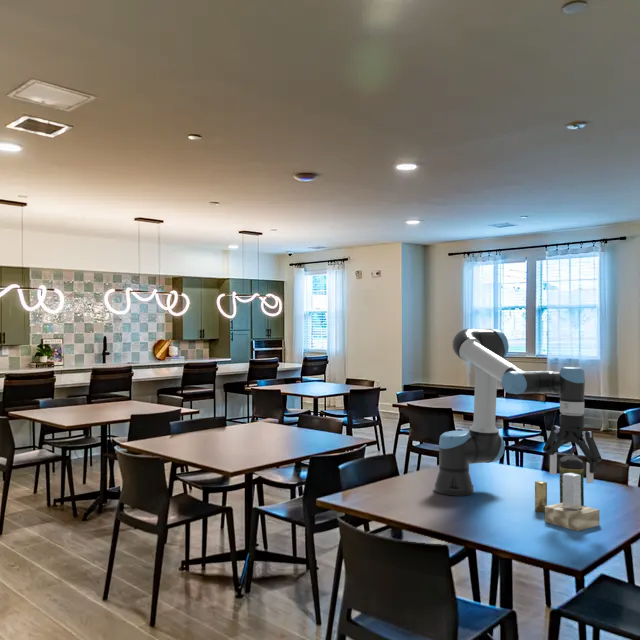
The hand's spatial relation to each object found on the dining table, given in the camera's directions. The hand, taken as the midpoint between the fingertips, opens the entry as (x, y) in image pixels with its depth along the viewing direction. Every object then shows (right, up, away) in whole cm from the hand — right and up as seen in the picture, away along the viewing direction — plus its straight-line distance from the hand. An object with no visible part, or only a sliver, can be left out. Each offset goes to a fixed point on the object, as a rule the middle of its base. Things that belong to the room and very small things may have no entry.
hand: (570, 478), depth 204 cm
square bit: (0, -13, -1) cm, 13 cm away
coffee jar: (+7, -16, +17) cm, 24 cm away
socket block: (0, -15, -1) cm, 15 cm away
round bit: (-5, -15, +14) cm, 21 cm away
